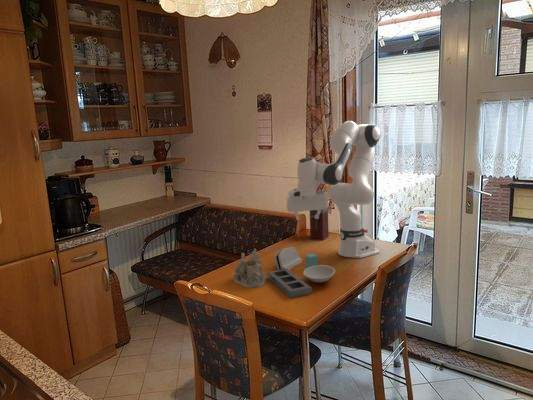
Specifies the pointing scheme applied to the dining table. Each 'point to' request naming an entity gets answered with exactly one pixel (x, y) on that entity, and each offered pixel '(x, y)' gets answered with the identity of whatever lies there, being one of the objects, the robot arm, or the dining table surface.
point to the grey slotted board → (289, 283)
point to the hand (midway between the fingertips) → (307, 219)
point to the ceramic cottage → (250, 271)
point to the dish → (319, 273)
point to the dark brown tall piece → (319, 225)
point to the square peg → (311, 260)
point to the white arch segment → (287, 258)
